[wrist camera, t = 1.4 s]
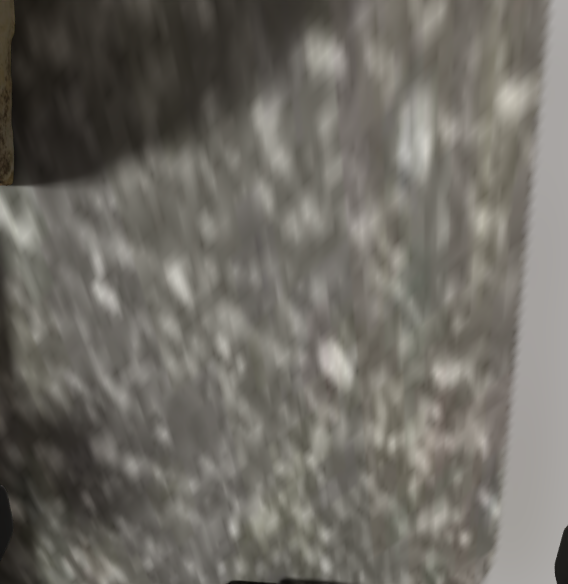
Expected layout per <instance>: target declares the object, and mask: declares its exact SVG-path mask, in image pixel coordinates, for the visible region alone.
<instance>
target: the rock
mask: <svg viewBox="0 0 568 584" xmlns="http://www.w3.org/2000/svg"><path fill="white" fill-rule="evenodd" d="M14 26H15V14H14V0H0V185H6V186H7V185H11V184H12V183H13V174H14V146H13V130H12V125H11V114H12V104H13V103H12V79H11V41H12V37H13V35H14V28H15V27H14Z"/></svg>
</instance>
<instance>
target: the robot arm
mask: <svg viewBox="0 0 568 584" xmlns="http://www.w3.org/2000/svg"><path fill="white" fill-rule="evenodd" d="M12 533H13V519H12V514H11V509H10V504H9V499H8V494H7V490H6V489H5V487H4V486H2V485H0V561H1V559H2V556H3V554H4V552H5V550H6V548H7V546H8V544H9V541H10V539H11V536H12ZM555 577H556V581H557V584H568V526H567V527H566V528H565V530H564V532H563V535H562V539H561V543H560V547H559V550H558V554H557V558H556V561H555Z"/></svg>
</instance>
